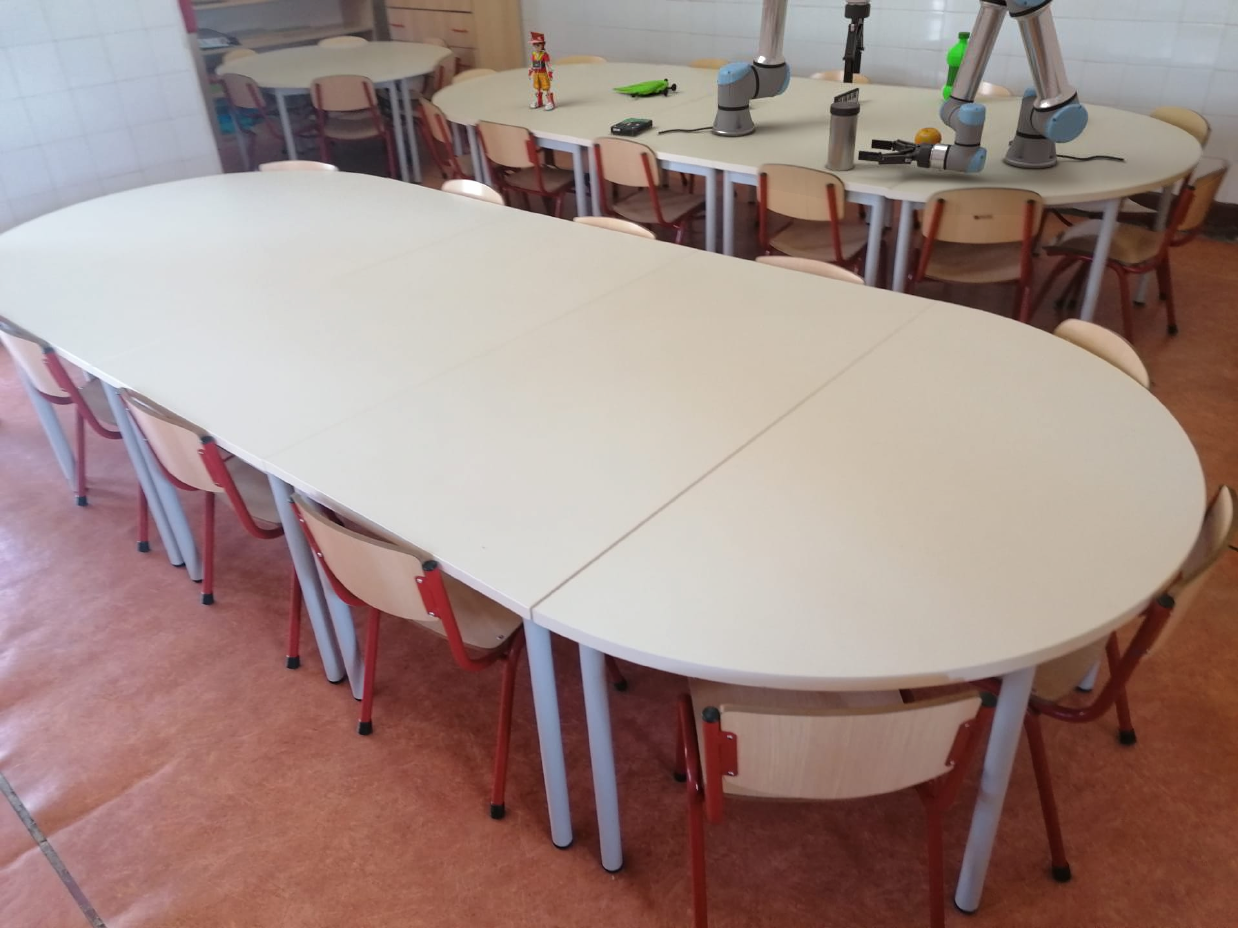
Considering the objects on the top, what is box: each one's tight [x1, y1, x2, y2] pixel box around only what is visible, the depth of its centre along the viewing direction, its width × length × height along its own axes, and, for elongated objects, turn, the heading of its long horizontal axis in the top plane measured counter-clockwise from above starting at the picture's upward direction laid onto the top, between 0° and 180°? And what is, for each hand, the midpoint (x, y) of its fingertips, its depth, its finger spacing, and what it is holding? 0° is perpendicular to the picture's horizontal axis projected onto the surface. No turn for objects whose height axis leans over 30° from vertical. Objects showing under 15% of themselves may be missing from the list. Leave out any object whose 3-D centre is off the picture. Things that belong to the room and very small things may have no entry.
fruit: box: [913, 127, 943, 144], centre depth 303 cm, size 8×8×8 cm
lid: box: [829, 102, 861, 116], centre depth 284 cm, size 9×9×2 cm
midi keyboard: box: [833, 87, 860, 103], centre depth 357 cm, size 18×1×5 cm, turn 138°
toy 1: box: [527, 31, 556, 111], centre depth 374 cm, size 12×9×30 cm
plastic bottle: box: [942, 31, 971, 101], centre depth 348 cm, size 10×10×25 cm
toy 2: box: [612, 78, 677, 99], centre depth 396 cm, size 28×5×30 cm
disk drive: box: [610, 117, 653, 136], centre depth 344 cm, size 10×3×15 cm
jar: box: [826, 113, 859, 171], centre depth 289 cm, size 8×8×19 cm
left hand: (851, 78), depth 282 cm, fingers open, 13 cm apart
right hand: (865, 149), depth 287 cm, fingers open, 13 cm apart
